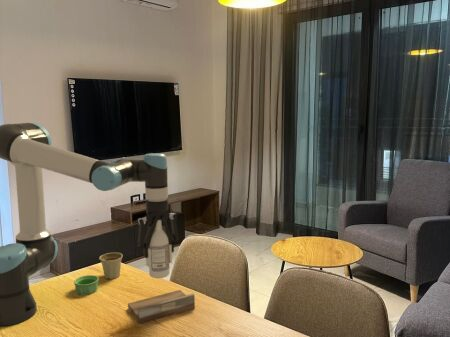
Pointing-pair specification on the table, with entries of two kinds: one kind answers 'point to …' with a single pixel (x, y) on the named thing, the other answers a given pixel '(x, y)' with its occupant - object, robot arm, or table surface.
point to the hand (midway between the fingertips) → (159, 263)
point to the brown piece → (161, 306)
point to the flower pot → (111, 264)
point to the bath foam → (159, 253)
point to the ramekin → (86, 284)
